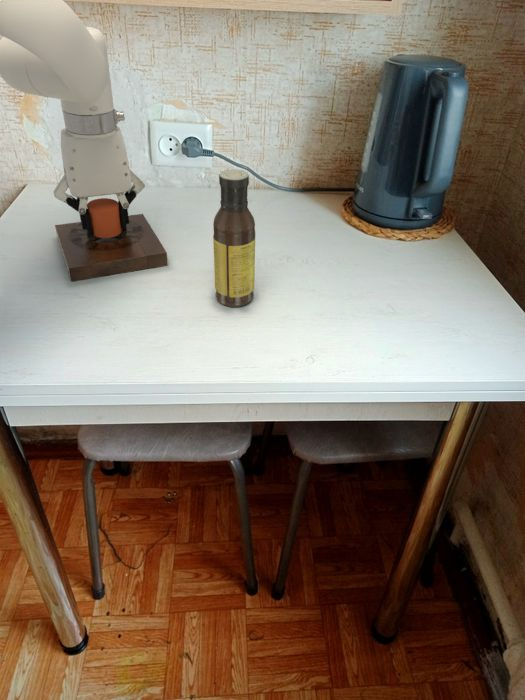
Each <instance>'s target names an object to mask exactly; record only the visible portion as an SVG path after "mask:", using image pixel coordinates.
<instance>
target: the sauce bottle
mask: <svg viewBox="0 0 525 700" xmlns="http://www.w3.org/2000/svg"><path fill="white" fill-rule="evenodd" d="M249 176H250V175H249V173H248V172H247V171H244V170H240V169H225V170H223V171H220V173H219V174H218V183H219V187H220V200H219V201H220V202H219V203H220V207H219V209H218V211H217V212H216V214H215V216H214V218H213V224H212V225H213V226H212V227H213V235H212V238H213V239H212V242H213V243H212V244H213V245H212V246H213V267H214V271H213V272H214V273H213V274H214V289H215V297H216V299H217V302H219V303H220V304H222V305H224V306H227V307H230V308H235V307H242V306H245V305H247V304H249V303H250V302H251V301H252V300H253V298H254V290H255V281H256V280H255V279H256V277H255V275H256V274H255V272H256V221H255V218H254V216H253V214H252V212H251V210H250V209H249V208H248V207H249V206H248V205H249V201H248V187H249V185H250V177H249Z"/></svg>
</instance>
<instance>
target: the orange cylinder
mask: <svg viewBox="0 0 525 700" xmlns="http://www.w3.org/2000/svg"><path fill="white" fill-rule="evenodd" d="M87 209H88V212H89V214H90V219H91V225H92V231H93V235H94V236H96V237H99V238H100V239H110V238H116V237H115V236H117V235H119V234H120V233H121V232H122V228H121V220H120V212H119V204H118V201H117V200H116V199H113V198H106V197H101V198H94V199H92V200H90V201H88V202H87Z"/></svg>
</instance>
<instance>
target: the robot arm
mask: <svg viewBox="0 0 525 700" xmlns="http://www.w3.org/2000/svg"><path fill="white" fill-rule="evenodd" d="M0 36H1V38H0V77H1V79H2V80H3V81H4V82H5V83H6V84H7V85H9V87H11V88H13V89H15V90H17V91H19V92H21V93H24V94H28V95H33V96H38V97H43V98H51V99H56V100H60V105H61V109H62V110H61V111H62V115H63V122H64V128H62V129H61V130H60V150H61V151H60V152H61V159H62V168H63V172H64V174H63V176H62V177H61V179H60V180H59V182H58V183H57V185H56V187H55V188H54V190H53V196H54V198H56V199H57V200H59V201H61V202H62V203H65V204H67V206H69V207H71V209H73V210H75V211H76V212H77V213H78V214H79V218H80V222H81V224H82V228H83V230H85V229H86V230H87V232H88V235H89V236H92V235H93V231H92V225H91V219H90V214H89V212H88V209H87V204H88V202H89V198H93V197H102V196H111V195H116V198H117V199H118V201H117V202H118V204H119V212H120V220H121V228H122V230H124V231H127V227H126V224H129V217H128V216H129V210H128V209H129V208H130V205H131V204H132V202H133V201H134V200H135V199H136V198H137V195H138V194H140V193H141V192H142V191H143V190H144V189H145V187H146V185H145V183H144V181H143V180H142V179H141V178H139V176H138V175H137V174H136V173H134V172H133V170H131V169H130V163H129V158H128V153H127V148H126V145H125V140H124V137H123V134H122V131H121V128H120V126H118V124H119V123H120V122H124V121H125V120H126V119H125V113H124V111H119V110H116V109H115V107H114V100H113V99H114V98H113V90H112V82H111V74H110V65H109V56H108V49H107V48H108V47H107V41H106V37H105V36H104V34H103V32H102V31H100V30H99V29H98V28H95V27H91V26H85V24H84V22H83V21H82V20H81V18H80V17H79V16H78V15H77V13H76V12H75V10H73V9H72V7H70V6H69V4H67V2H65V1H64V0H0ZM68 189H69V193H70V194H68V193H67V190H68Z"/></svg>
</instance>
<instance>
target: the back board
mask: <svg viewBox="0 0 525 700" xmlns="http://www.w3.org/2000/svg"><path fill="white" fill-rule="evenodd" d="M128 217H129V224H126V227H127V231H124V230H122V232H121V233H120V234H119V235H117V236H115V237H114V238H117V239H118V240H115V241H109V242H99V241H97V240H99V239H101V238H99V237H96V236H94V235H92V236H89V235H88V232H87V230H86V229H85V230H83V228H82V224H81V221H76V222H68V223H61V224H54V227H55V232H56V237H57V240H58V243H59V247H60V250H61V254H62V256H63V259H64V263H65V267H66V268H67V273H68V275H69V279H70V281H71V282H76V281H83V280H88V279H94V278H101V277H107V276H113V275H118V274H125V273H130V272H131V273H132V272H135V271H136V272H137V271H143V270H147V269H153V268H160V267H166V266H168V263H169V262H168V251H166V248H165V247H164V246H163V244H162V242H161V241H160V239H159V238H158V235H157V234H156V233H155V231H154V230H153V228H152V226H151V225H150V223H149V222H148V219H147V218H146V217H145V215H144V213H138V214H131V215H129V214H128Z"/></svg>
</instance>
